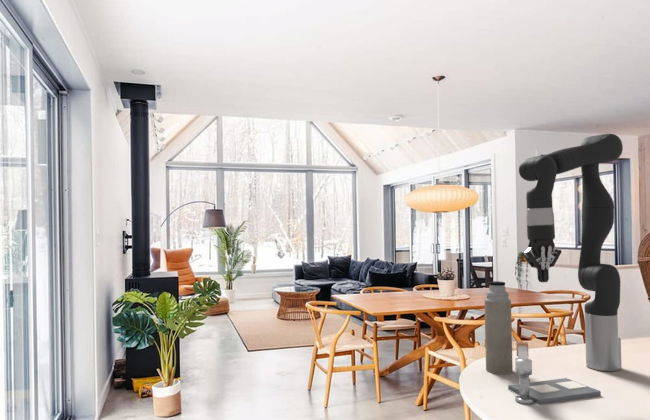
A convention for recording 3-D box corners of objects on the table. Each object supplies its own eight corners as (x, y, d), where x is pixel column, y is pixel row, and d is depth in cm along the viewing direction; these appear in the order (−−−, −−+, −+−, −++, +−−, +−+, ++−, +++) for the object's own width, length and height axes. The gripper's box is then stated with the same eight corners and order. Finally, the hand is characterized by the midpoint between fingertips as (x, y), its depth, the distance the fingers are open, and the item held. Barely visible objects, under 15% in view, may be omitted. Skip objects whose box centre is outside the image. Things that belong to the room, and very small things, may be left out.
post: (525, 397, 128) (525, 371, 129) (537, 403, 124) (536, 376, 124) (511, 399, 127) (511, 373, 127) (523, 405, 123) (522, 378, 123)
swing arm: (532, 376, 123) (532, 361, 123) (515, 375, 125) (515, 360, 125) (529, 355, 144) (529, 342, 144) (515, 354, 145) (515, 341, 145)
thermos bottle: (510, 367, 156) (508, 280, 157) (514, 374, 148) (512, 283, 149) (484, 366, 157) (482, 280, 158) (487, 373, 150) (485, 282, 151)
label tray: (566, 382, 141) (566, 376, 141) (600, 395, 129) (600, 390, 129) (508, 389, 135) (508, 384, 135) (539, 404, 123) (538, 398, 123)
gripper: (548, 223, 149) (551, 279, 149) (513, 224, 145) (516, 282, 145) (567, 222, 142) (571, 281, 142) (531, 224, 138) (534, 285, 137)
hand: (543, 281), depth 143 cm, fingers closed
